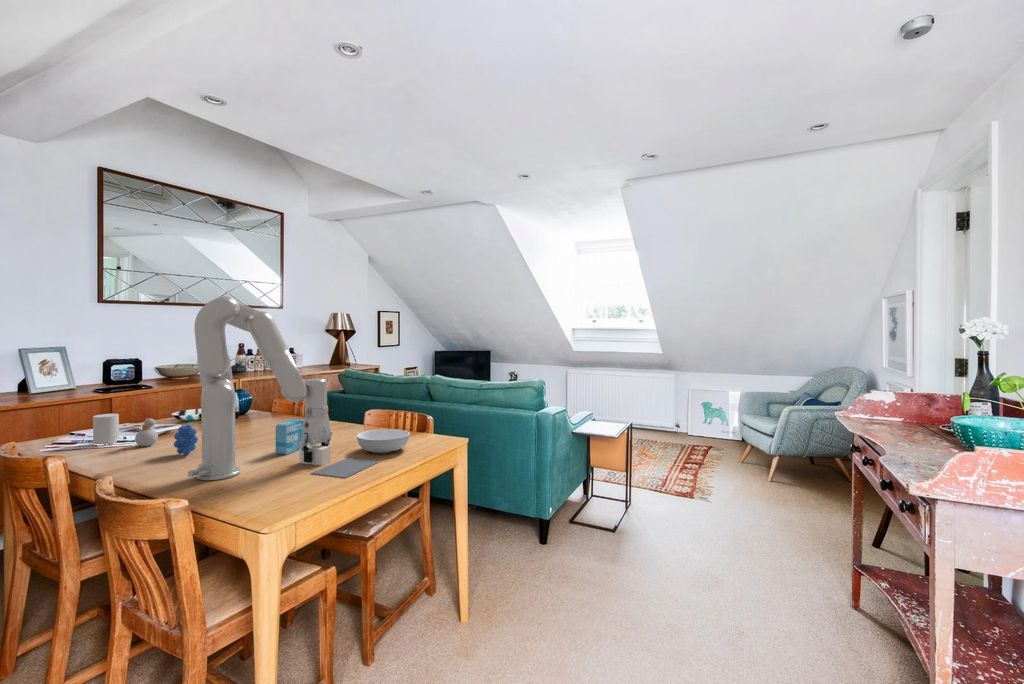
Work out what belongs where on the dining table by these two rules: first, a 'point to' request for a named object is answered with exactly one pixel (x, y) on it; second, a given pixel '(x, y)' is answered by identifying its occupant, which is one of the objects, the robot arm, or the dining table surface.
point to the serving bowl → (383, 440)
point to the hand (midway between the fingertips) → (316, 458)
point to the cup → (105, 428)
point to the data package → (288, 436)
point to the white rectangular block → (317, 455)
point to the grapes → (185, 439)
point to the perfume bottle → (147, 434)
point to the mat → (345, 467)
